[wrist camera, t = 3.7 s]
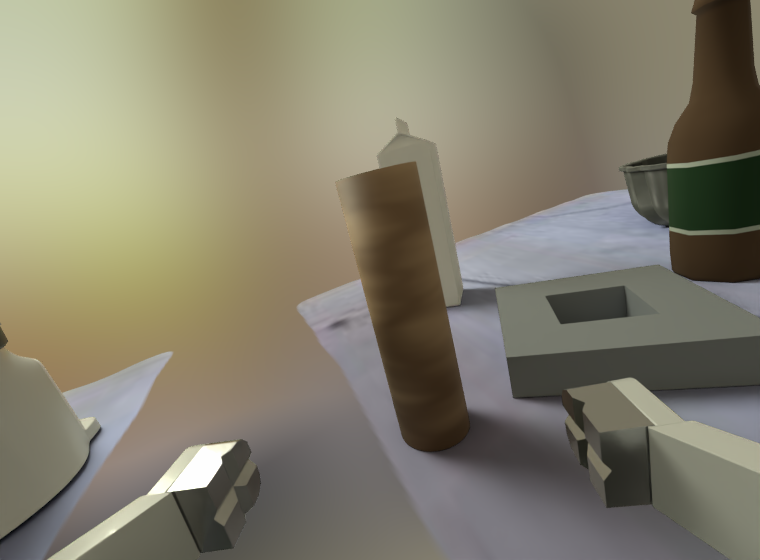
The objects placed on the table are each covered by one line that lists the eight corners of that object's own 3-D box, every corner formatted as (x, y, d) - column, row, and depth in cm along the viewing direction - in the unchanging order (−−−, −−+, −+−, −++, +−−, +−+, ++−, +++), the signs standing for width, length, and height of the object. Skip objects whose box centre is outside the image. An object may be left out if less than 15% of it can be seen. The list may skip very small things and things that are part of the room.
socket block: (513, 397, 23) (506, 357, 23) (499, 315, 36) (494, 288, 35) (785, 383, 19) (787, 333, 18) (659, 296, 32) (658, 264, 31)
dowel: (395, 451, 21) (321, 183, 17) (407, 406, 25) (351, 180, 21) (469, 451, 20) (408, 160, 16) (470, 402, 24) (421, 162, 20)
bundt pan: (624, 212, 68) (620, 159, 66) (837, 183, 53) (843, 113, 50) (621, 248, 48) (616, 173, 46) (967, 218, 32) (987, 103, 30)
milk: (463, 289, 47) (432, 115, 42) (460, 306, 41) (423, 107, 36) (419, 295, 49) (384, 129, 44) (410, 311, 43) (369, 124, 38)
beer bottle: (800, 280, 29) (819, -65, 23) (676, 286, 33) (666, -4, 27) (766, 255, 35) (774, -23, 29) (666, 262, 39) (655, 22, 34)
